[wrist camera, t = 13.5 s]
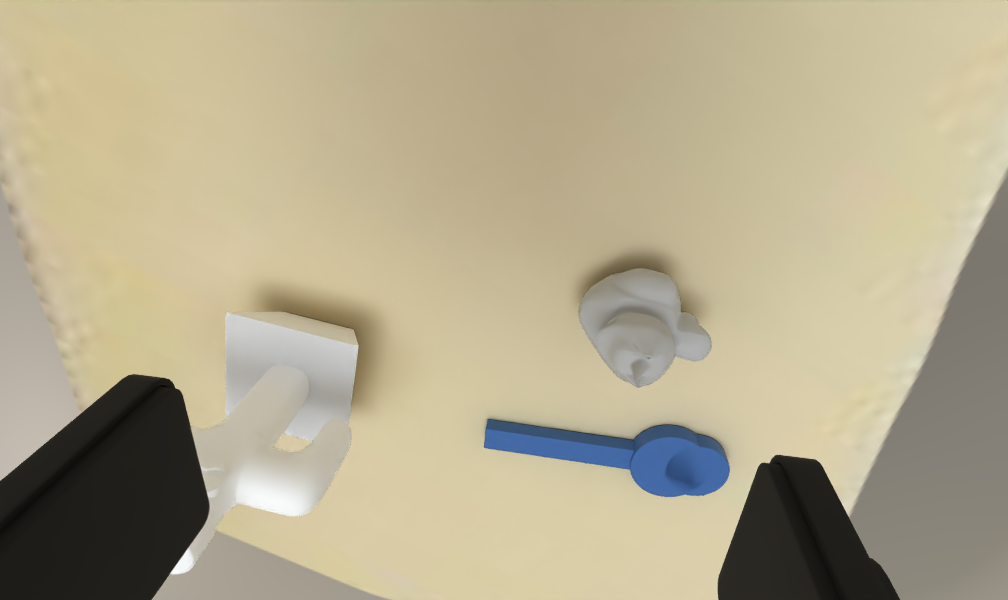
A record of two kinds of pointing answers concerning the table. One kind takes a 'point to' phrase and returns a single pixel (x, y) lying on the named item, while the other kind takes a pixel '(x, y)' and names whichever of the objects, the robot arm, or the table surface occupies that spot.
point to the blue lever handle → (626, 454)
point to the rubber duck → (641, 325)
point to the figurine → (276, 418)
